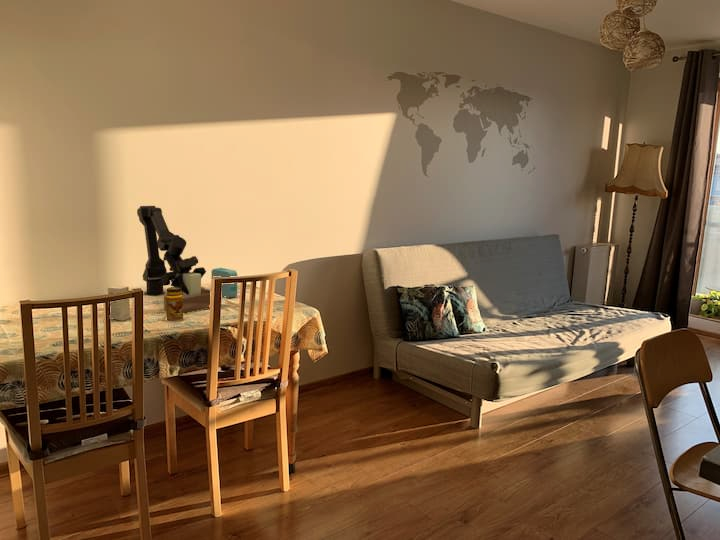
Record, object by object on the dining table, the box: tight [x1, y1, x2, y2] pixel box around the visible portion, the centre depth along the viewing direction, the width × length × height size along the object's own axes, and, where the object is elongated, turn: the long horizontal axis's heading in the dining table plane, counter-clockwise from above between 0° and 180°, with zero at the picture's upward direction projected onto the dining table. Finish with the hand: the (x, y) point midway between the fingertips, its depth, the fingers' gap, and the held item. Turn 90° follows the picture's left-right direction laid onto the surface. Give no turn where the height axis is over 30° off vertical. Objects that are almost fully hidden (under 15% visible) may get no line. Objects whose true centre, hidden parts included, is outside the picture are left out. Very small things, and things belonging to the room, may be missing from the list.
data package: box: [211, 267, 238, 298], centre depth 261 cm, size 12×4×12 cm, turn 54°
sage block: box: [183, 273, 202, 298], centre depth 237 cm, size 5×5×14 cm
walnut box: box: [163, 287, 211, 314], centre depth 238 cm, size 10×19×6 cm, turn 145°
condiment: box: [158, 286, 189, 323], centre depth 220 cm, size 7×8×12 cm
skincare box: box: [107, 285, 131, 321], centre depth 218 cm, size 6×4×12 cm
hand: (193, 292), depth 236 cm, fingers closed on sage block, 5 cm apart
